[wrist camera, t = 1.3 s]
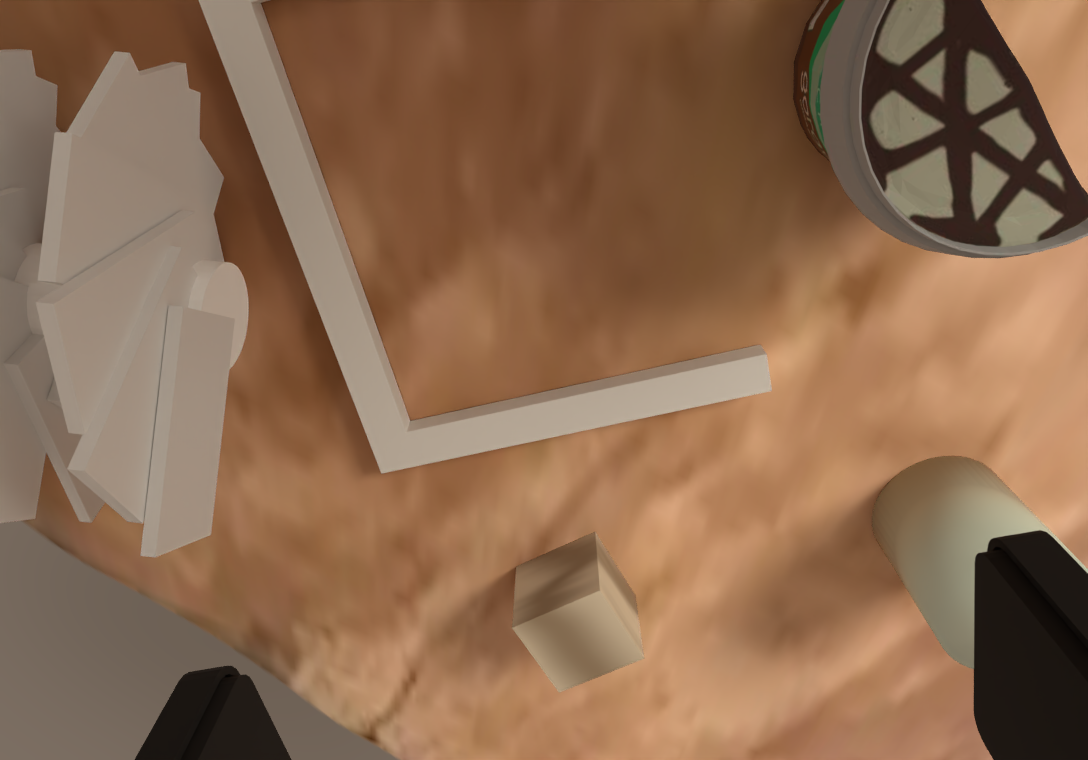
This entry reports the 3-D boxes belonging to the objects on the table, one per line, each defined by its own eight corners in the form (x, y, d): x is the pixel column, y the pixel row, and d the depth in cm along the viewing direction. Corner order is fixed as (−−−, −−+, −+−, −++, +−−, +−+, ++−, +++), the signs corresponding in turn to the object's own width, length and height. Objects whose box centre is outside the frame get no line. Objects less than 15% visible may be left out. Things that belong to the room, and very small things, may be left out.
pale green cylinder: (1004, 443, 41) (1101, 535, 34) (1005, 551, 44) (1094, 657, 36) (866, 470, 42) (932, 566, 34) (876, 574, 45) (939, 683, 37)
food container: (705, 39, 33) (763, 48, 24) (833, -68, 31) (947, -103, 22) (856, 261, 37) (955, 341, 28) (977, 176, 35) (1125, 231, 26)
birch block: (595, 530, 44) (599, 590, 39) (635, 594, 45) (644, 658, 41) (516, 565, 45) (512, 628, 40) (558, 626, 46) (558, 692, 42)
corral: (684, -182, 30) (689, -189, 29) (765, 380, 40) (771, 390, 38) (195, -37, 32) (183, -39, 31) (385, 461, 42) (381, 473, 41)
